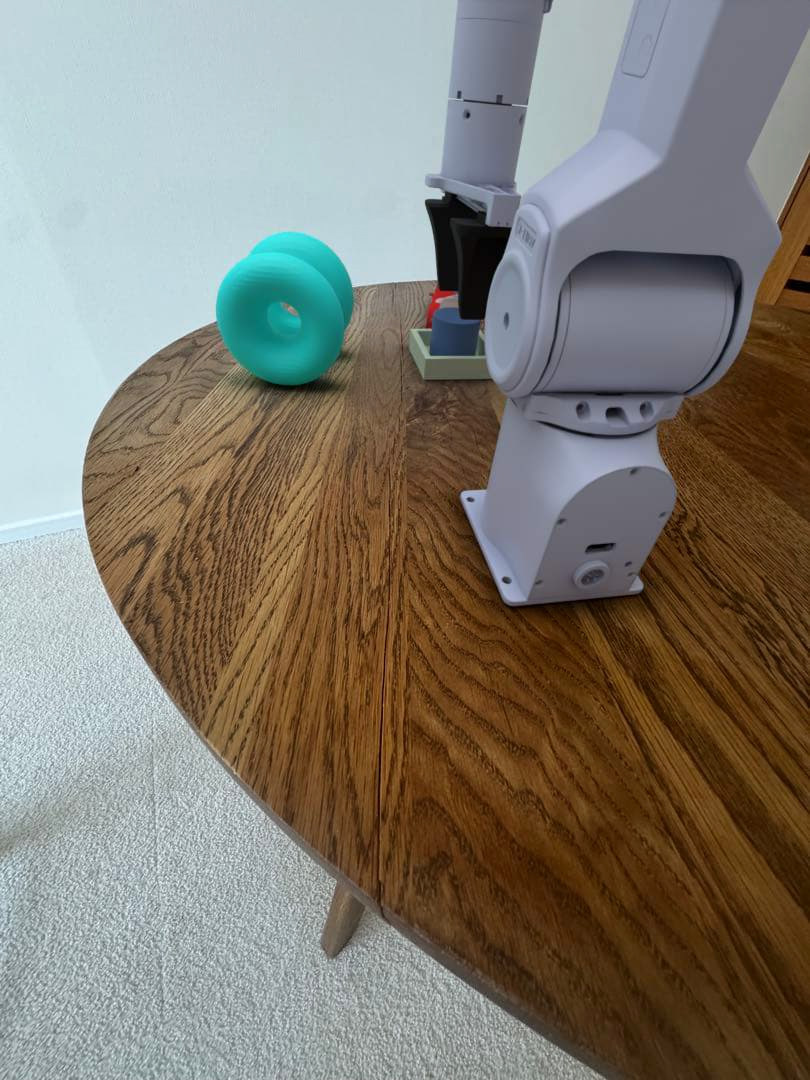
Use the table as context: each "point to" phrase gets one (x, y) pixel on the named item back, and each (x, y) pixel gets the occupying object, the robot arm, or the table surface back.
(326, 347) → the turquoise spool
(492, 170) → the robot arm
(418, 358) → the tray
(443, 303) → the race car
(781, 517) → the table surface
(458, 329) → the cylinder
